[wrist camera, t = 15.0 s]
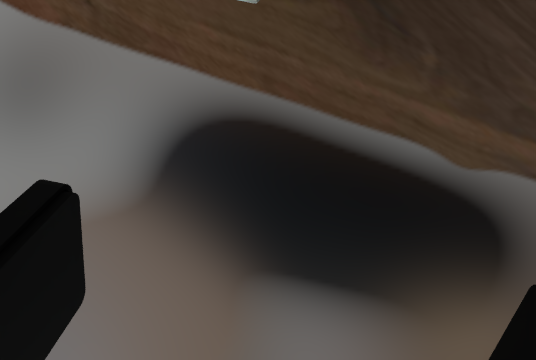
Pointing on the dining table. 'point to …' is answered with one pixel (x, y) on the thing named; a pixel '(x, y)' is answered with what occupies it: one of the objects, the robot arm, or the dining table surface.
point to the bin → (251, 0)
